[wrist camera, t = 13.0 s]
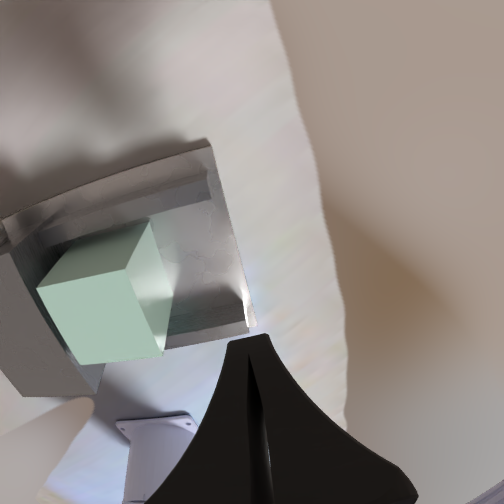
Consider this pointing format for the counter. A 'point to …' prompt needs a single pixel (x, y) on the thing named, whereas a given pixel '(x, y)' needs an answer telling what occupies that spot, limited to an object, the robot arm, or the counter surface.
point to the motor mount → (105, 220)
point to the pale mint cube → (110, 296)
